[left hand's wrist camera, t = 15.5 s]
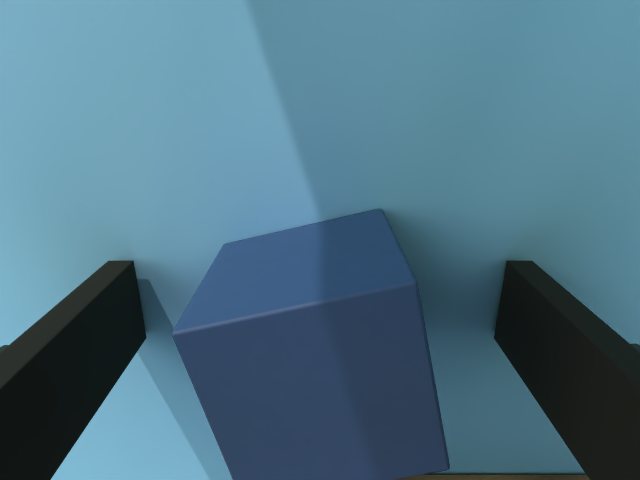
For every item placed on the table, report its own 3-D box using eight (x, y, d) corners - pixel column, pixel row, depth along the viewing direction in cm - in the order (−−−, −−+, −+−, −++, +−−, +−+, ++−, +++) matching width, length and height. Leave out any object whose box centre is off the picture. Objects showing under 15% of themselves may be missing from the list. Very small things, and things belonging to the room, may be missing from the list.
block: (267, 373, 14) (243, 507, 10) (222, 243, 13) (169, 333, 8) (408, 344, 14) (451, 471, 9) (382, 207, 12) (417, 281, 8)
